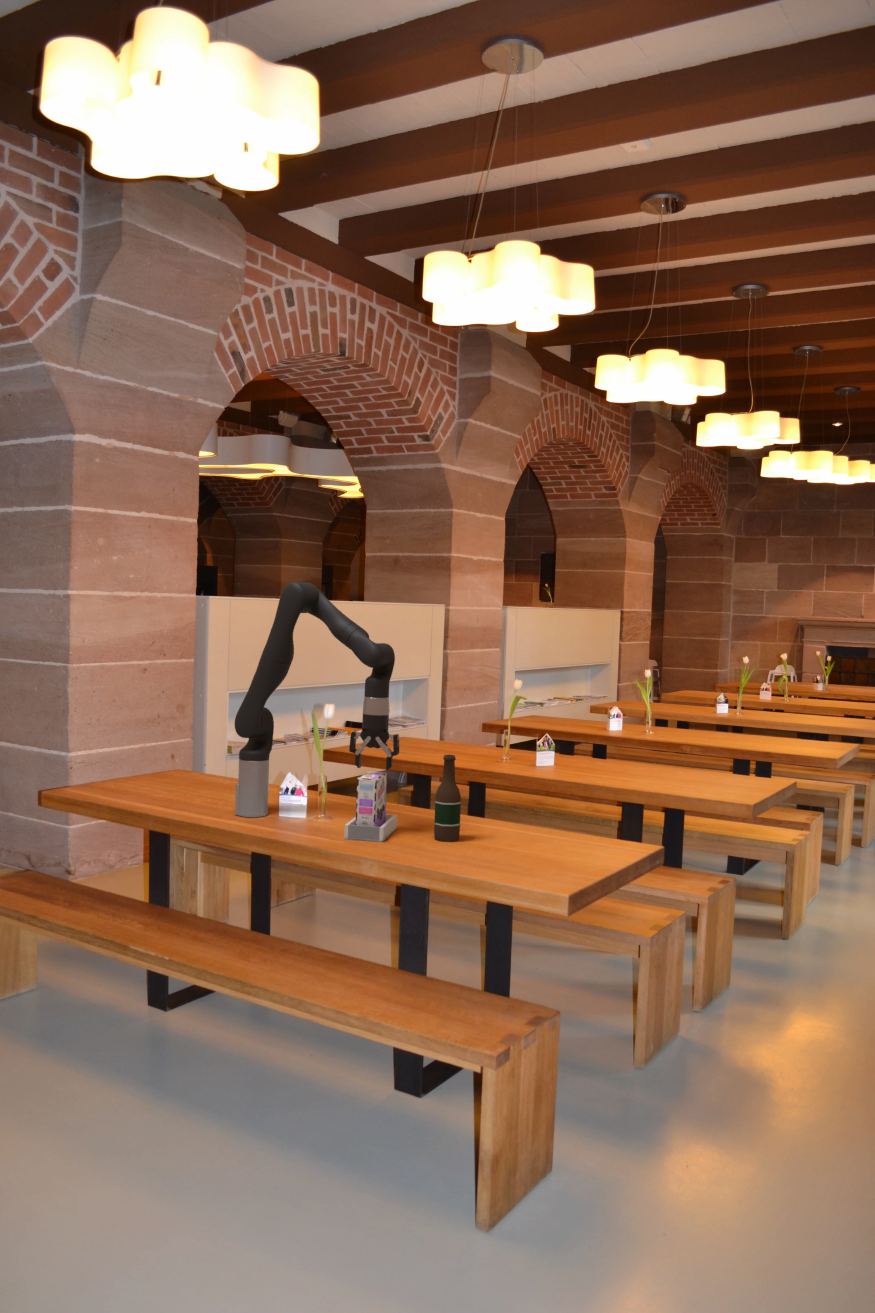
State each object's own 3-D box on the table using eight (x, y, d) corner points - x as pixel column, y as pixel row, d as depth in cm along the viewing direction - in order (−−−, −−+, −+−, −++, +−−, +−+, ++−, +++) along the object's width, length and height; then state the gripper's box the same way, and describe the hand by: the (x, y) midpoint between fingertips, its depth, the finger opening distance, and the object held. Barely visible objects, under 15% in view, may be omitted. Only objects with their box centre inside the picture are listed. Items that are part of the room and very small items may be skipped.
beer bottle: (428, 837, 284) (431, 753, 283) (453, 835, 287) (456, 753, 286) (439, 843, 277) (442, 757, 276) (464, 841, 280) (467, 756, 279)
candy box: (374, 837, 279) (376, 779, 278) (354, 835, 280) (356, 777, 279) (385, 827, 292) (387, 771, 291) (366, 825, 293) (368, 770, 292)
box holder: (344, 839, 277) (344, 825, 277) (360, 825, 296) (361, 812, 296) (382, 842, 275) (383, 827, 275) (396, 828, 294) (397, 814, 294)
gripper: (348, 712, 282) (346, 769, 282) (397, 715, 279) (395, 772, 280) (355, 710, 289) (352, 765, 290) (402, 713, 287) (400, 768, 288)
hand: (373, 768), depth 285 cm, fingers open, 8 cm apart
